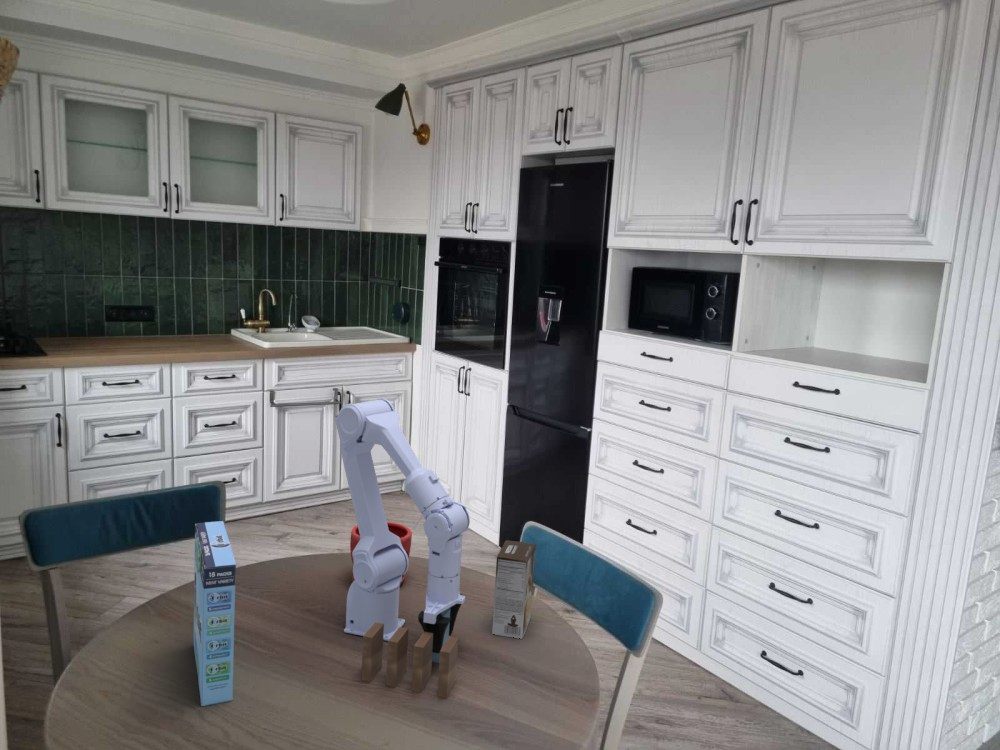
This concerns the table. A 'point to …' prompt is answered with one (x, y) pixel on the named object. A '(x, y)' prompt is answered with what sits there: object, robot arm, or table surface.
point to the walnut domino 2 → (397, 656)
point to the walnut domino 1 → (372, 651)
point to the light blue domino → (435, 655)
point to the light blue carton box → (214, 612)
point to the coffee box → (513, 589)
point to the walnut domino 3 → (422, 662)
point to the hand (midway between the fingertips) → (440, 642)
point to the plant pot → (394, 528)
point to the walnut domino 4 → (448, 667)
